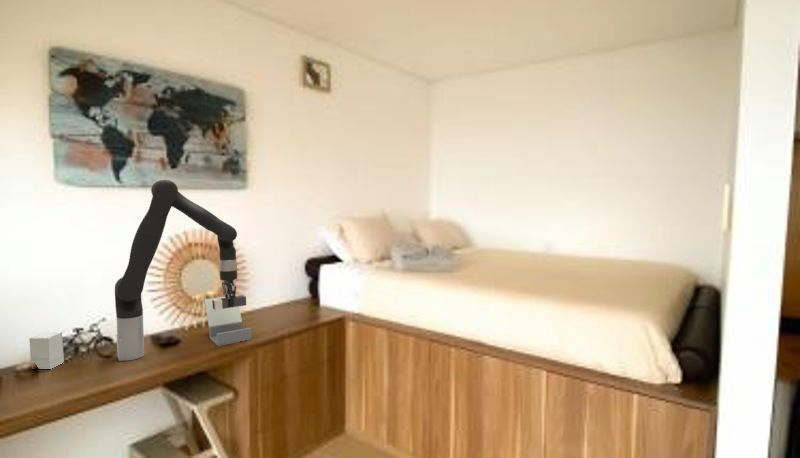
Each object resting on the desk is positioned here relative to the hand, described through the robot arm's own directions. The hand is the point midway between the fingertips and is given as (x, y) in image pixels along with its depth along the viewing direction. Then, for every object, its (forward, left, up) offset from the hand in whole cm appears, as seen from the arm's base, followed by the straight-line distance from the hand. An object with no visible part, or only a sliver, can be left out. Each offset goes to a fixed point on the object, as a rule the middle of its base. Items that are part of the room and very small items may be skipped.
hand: (229, 305), depth 203 cm
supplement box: (-67, +7, -16) cm, 69 cm away
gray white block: (0, 0, -1) cm, 1 cm away
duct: (0, 0, -16) cm, 16 cm away
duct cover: (0, +10, -4) cm, 11 cm away
